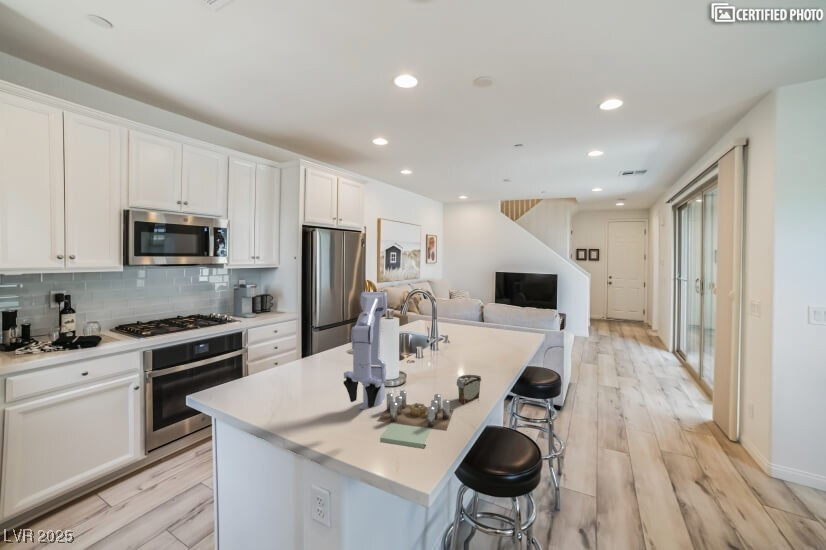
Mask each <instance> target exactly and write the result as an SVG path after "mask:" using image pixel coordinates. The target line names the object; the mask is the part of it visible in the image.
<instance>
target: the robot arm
mask: <svg viewBox="0 0 826 550" xmlns="http://www.w3.org/2000/svg"><path fill="white" fill-rule="evenodd" d="M359 300H360V301H359V303H360V307H361V309H362V312H360V313H359V315H358V317H357V321H356V322H355V323H356V324H355V325H354V326H352V327H351V330H350V340H351V341H350V342H351V349H352V350H353V351H352V353H353V354H352V358H353V359H352V370H353V371H349V370H346V371H344V372H343V379H345V380H344V381H343V385H344V387H345V388H346V391H347V393H348V396H349V401H350V402H351V403H353V402H355V401H357V399H358V398H357V397H358V388H359V387H358V385H359V382H360V383H361V385H362V389H363V390H362V393H363V394H362V404H361V405H360V406H359V407H358V409H359V410H365V408H367V407H368V409H371V408H373V407H378V406H380V405H382V404H383V401H384V400H385V392H386V391H385V388H386V387H385V382H386V379H387V367H386V366H387V364H386V361H384V360H383V359H382V358H380V346H381V345H380V344H381V341H380V340H381V323H382V317H383V316H384V315H385V314H387V311H388V293H387V292H386V291H362V292H361V293H360V299H359Z"/></svg>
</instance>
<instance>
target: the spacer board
mask: <svg viewBox="0 0 826 550" xmlns="http://www.w3.org/2000/svg"><path fill="white" fill-rule="evenodd" d="M410 405H411V404H408V403H406V408H405V409H402V415H397V422H391V421H390V412H387V408H386V409H385V410H384V411H383V412H382V414H381V415H380V416H379V417H378V419H377V420H376V422H378V423H379V422H380V423H386V424H387V423H388V424H390V423H394V424H401V425H409V426H416V427H423V428H430V429H431V430H437V431H447V430H448V427H449V424H450V422H451V418H452V415H453V413H454V409H449V419H443V418H442V411H443V408H441V412H440V413H438V419H437V420H435V426H434V427H428V426H427V416H428V407H429V406H425V407H426V414H425V415H423V416H412V414H411V413H410Z"/></svg>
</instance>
